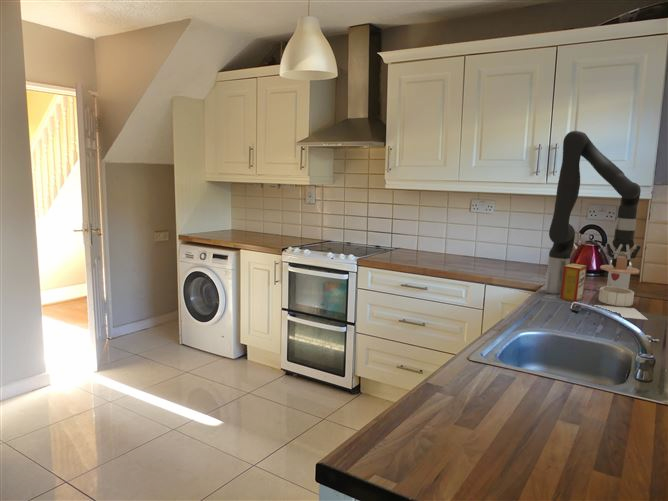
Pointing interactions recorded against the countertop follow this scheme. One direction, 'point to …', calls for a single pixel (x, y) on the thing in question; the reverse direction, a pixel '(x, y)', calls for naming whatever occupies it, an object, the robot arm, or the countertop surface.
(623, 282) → the supplement box
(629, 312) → the mat
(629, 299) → the bowl
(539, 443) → the countertop surface
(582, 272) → the baking soda box
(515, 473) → the countertop surface
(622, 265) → the lid
